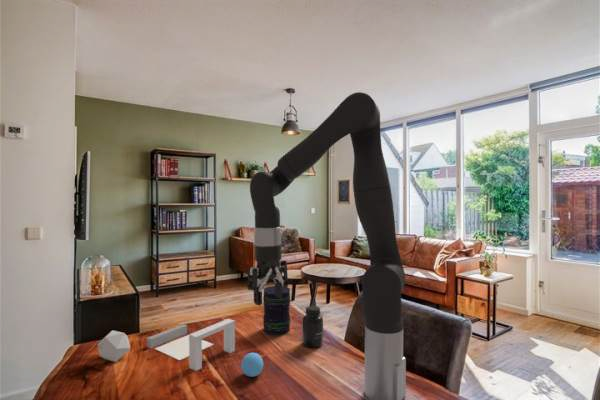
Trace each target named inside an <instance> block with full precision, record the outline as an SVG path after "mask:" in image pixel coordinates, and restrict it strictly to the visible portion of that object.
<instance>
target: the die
mask: <svg viewBox="0 0 600 400" xmlns="http://www.w3.org/2000/svg"><path fill="white" fill-rule="evenodd" d="M97 348H98V353H99V357H101V358H102V359H103V360H107V361H110V362H114V363H117V362H118V361H119V360H120V359H121V358H122V357H123V356H124V355H125V354H126V353H127V352H128V351H129V350H130V349H131V344H130V341H129V337H128V336H127V334H126V333H125V332H123V331H122V332H121V331H117V330H111V331H110V332H109V333H107V335H105V336H104V337H103V338H102V339H101V340H100V341H99V342H98V343H97Z"/></svg>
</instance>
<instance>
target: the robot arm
mask: <svg viewBox="0 0 600 400" xmlns="http://www.w3.org/2000/svg"><path fill="white" fill-rule="evenodd" d="M348 135H350V140H351V145H352V148H353V159H354V161H353V174H352V190H353V197H354V198H353V199H354V203H355V204H354V205H355V210H356V213H357V217H358V219H359V220H358V221H359V222H360V224H361V225H360V226H361V227H362V229H363V231H364V234H365V237H366V239H367V244H368V249H369V250H368V252H369V264H370V265H369V267H368V268H367V269H366V270H365V272H364V273H363V277H362V284H361V288H362V289H361V291H362V293H361V296H362V300H361V301H362V315H363V317H364V394H365V397H366V398H367V399H368V400H403V399H404V398H405V397H406V394H407V393H406V392H407V391H406V390H407V389H406V385H407V383H406V382H407V379H406V378H407V377H406V375H407V368H406V367H407V359H406V356H404V317H403V314H402V290H403V289H404V287H405V283H406V273H405V269H404V265H403V262H402V258H401V254H400V251H399V247H398V242H397V241H398V240H397V235H396V234H397V233H396V221H395V220H396V219H395V212H394V203H393V194H392V189H391V182H390V179H389V173H388V169H387V164H386V161H385V158H384V153H383V150H382V149H383V147H382V136H381V111H380V108H379V106H378V104H377V103H376V101H375V99H374V98H373V97H372V96H371V95H369V94H368V93H366V92H362V91H360V92H357V91H356V92H353V93H351V94H349V95H348V96H346V97H345V99H344V100H343V101H342V102H340V104H338V106H337V107H336V108H335V109H334V110H333V112H331V114H329V116H328V117H327V118H326V119H324V120H323V122H321V124H320V125H318V126H317V128H316V129H314V130H313V131H312V132H311V133H310V134H309V135H308V136H307V137H306V138H304V139H303V140H301V141H300V142H299V143H298V144H297V145H294V147H293V148H291V149H290V150H289V151H287V152H286V153H285V154H284V155H282V156H281V157H280V158H279V159H278V161H277V166H275V167H274V168H273V169H272V170H270V171H257V172H256V173H254V174H253V176H252V177H251V180H250V182H249V192H250V193H249V194H250V199H251V203H252V207H253V210H254V234H253V235H254V237H253V238H254V240H253V241H254V246H253V248H254V260H255V262H256V266H255V267H248V268H247V287H246V288H247V290H249V291H253V303H254V305H256V306H261V305H263V291H262V290H263V289H264V286H265V285H266V284H267V283H268V281H270V280H273V281H274V286H275V296H276V297H279V298H280V297H282V293H283V286H284V283H285V282H286V281H288V279H289V278H288V261H287V260H285V259H282V258H283V257H282V232H281V215H280V209H279V208H278V207H277V206H276V204H275V197H277V196H278V195H280V194H281V193H283V192H284V191H285V190H286V189H287V188H288V187H290V185H291V184H292V183H293V181H295V179H298V177H300V176H301V175H303V174H304V173H306V171H309V170H310V169H311V168H312V167H313V166H314V165H316V164H317V163H318V162H319V161H320V159H321V158H322V157H323V156H324V155H325V154H326V153H327V152H328V151H329V149H330V148H331V147H332V146H334V145H335V144H336V143H338V142H339V141H340V140H341V139H343V138H344V137H346V136H348Z"/></svg>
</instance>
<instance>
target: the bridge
mask: <svg viewBox="0 0 600 400" xmlns="http://www.w3.org/2000/svg"><path fill="white" fill-rule="evenodd" d="M220 331H223V351H224V352H225V353H228V354H232V353H234V352H235V351H236V320H233V319H231V318H227V319H223V320H221V321H218V322H217V323H215V324H212V325H209V326H207V327H205V328H202V329H200V330H197V331H194V332H191V333H189V334H188V335H189V356H188V361H189V362H188V363H189V366H188V367H189V368H188V369H190V370H192V371H195V372H198V371H199V370H201V369H203V353H202V352H203V350H202V340H203V339H205V338H207V337H209V336H212V335H214V334H216V333H218V332H220Z"/></svg>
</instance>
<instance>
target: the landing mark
mask: <svg viewBox="0 0 600 400" xmlns="http://www.w3.org/2000/svg"><path fill="white" fill-rule="evenodd" d="M212 346H214V343H211V342H210V341H206V340H204V339H202V351H203V350H206V349H207V348H210V347H212ZM154 350H156V351H158V352H160V353H162V354H164V355H166V356H168V357H171V358H173V359H175V360H178V361H182V360H184V359H186V358H189V334H186V335H183V336H181V337H178V338H176V339H174V340H171V341H169V342H166V343H164V344H161V345H159V346H156V347H154Z"/></svg>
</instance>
